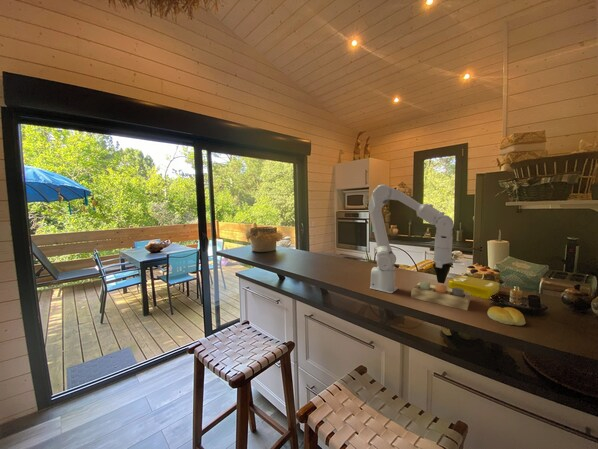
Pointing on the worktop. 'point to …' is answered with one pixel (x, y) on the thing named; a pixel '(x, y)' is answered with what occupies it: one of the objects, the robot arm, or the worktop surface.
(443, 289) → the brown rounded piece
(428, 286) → the sage button
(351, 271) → the worktop surface
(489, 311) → the bread roll
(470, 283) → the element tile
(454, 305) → the button panel
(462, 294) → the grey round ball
